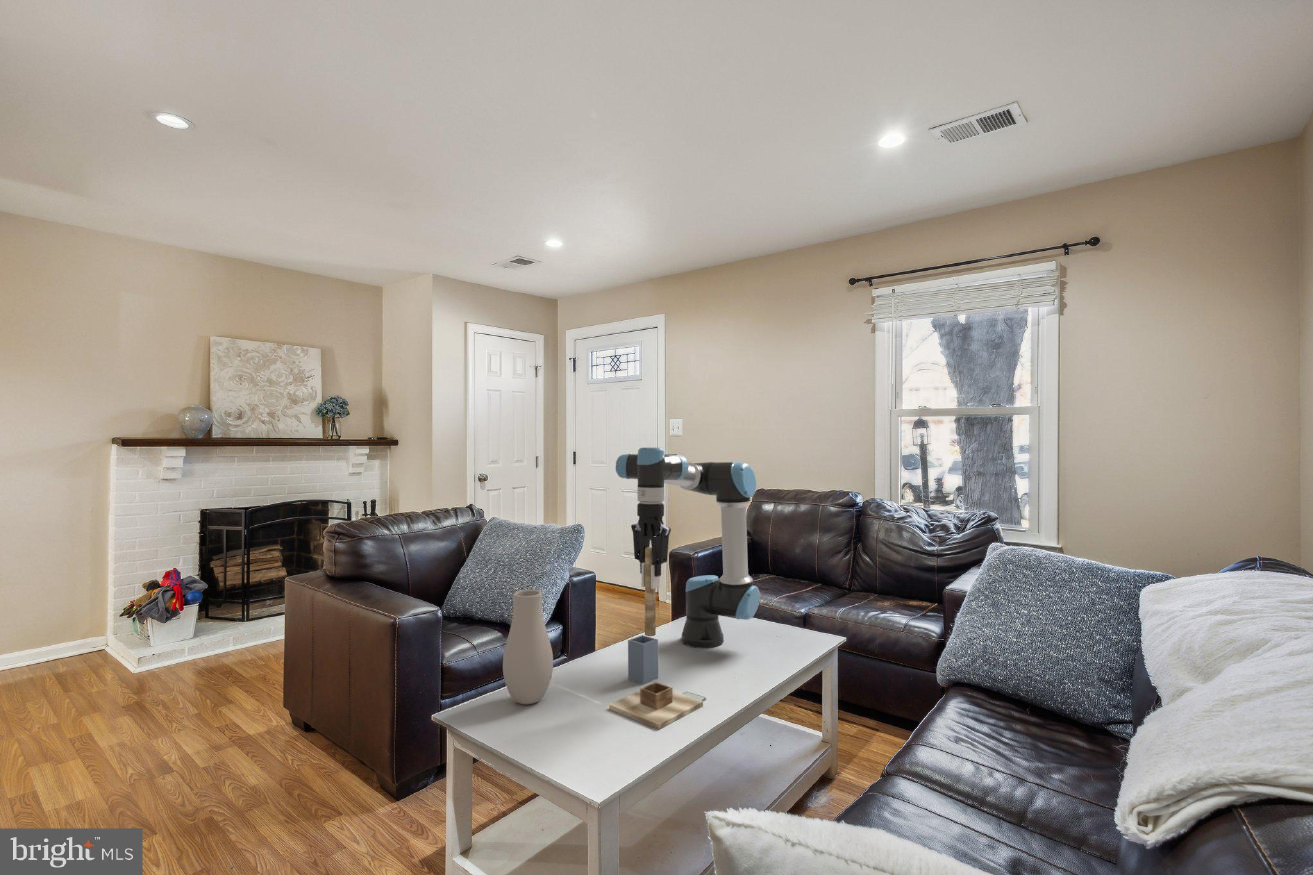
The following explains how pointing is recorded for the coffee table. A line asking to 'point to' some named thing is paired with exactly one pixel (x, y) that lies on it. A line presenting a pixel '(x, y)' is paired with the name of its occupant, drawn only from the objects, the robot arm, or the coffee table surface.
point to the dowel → (649, 596)
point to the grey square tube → (643, 659)
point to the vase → (527, 650)
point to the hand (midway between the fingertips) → (650, 586)
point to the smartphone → (694, 696)
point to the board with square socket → (656, 705)
